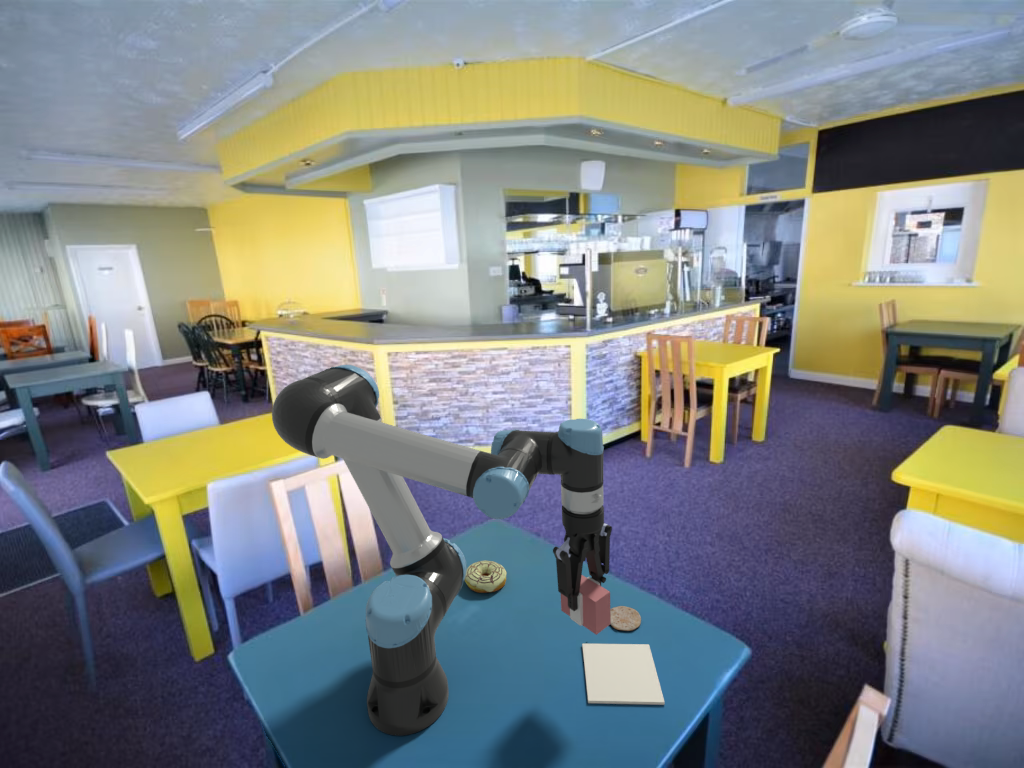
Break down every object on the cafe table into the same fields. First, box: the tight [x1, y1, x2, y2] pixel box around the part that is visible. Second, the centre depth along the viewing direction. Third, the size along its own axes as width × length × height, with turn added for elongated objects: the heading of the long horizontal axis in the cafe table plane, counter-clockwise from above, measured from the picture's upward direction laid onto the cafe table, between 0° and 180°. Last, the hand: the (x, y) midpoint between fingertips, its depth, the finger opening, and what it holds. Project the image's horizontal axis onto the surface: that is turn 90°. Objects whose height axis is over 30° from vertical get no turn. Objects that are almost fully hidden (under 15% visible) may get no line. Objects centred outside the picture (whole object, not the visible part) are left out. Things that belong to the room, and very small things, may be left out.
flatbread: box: [609, 605, 642, 632], centre depth 114 cm, size 8×8×1 cm
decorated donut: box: [464, 560, 507, 594], centre depth 129 cm, size 10×11×4 cm
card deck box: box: [560, 574, 611, 636], centre depth 95 cm, size 9×4×7 cm, turn 40°
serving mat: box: [581, 643, 665, 706], centre depth 100 cm, size 14×14×1 cm
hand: (585, 615), depth 96 cm, fingers closed on card deck box, 4 cm apart
